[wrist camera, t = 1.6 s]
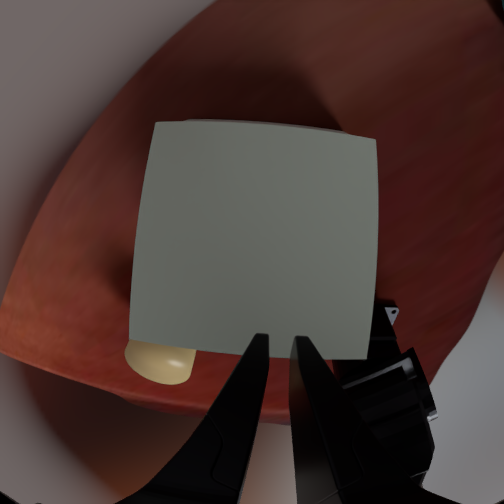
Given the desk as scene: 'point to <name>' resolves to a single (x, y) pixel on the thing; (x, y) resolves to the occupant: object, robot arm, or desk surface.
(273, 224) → the box lid
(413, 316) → the desk surface
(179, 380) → the beige rounded cylinder
